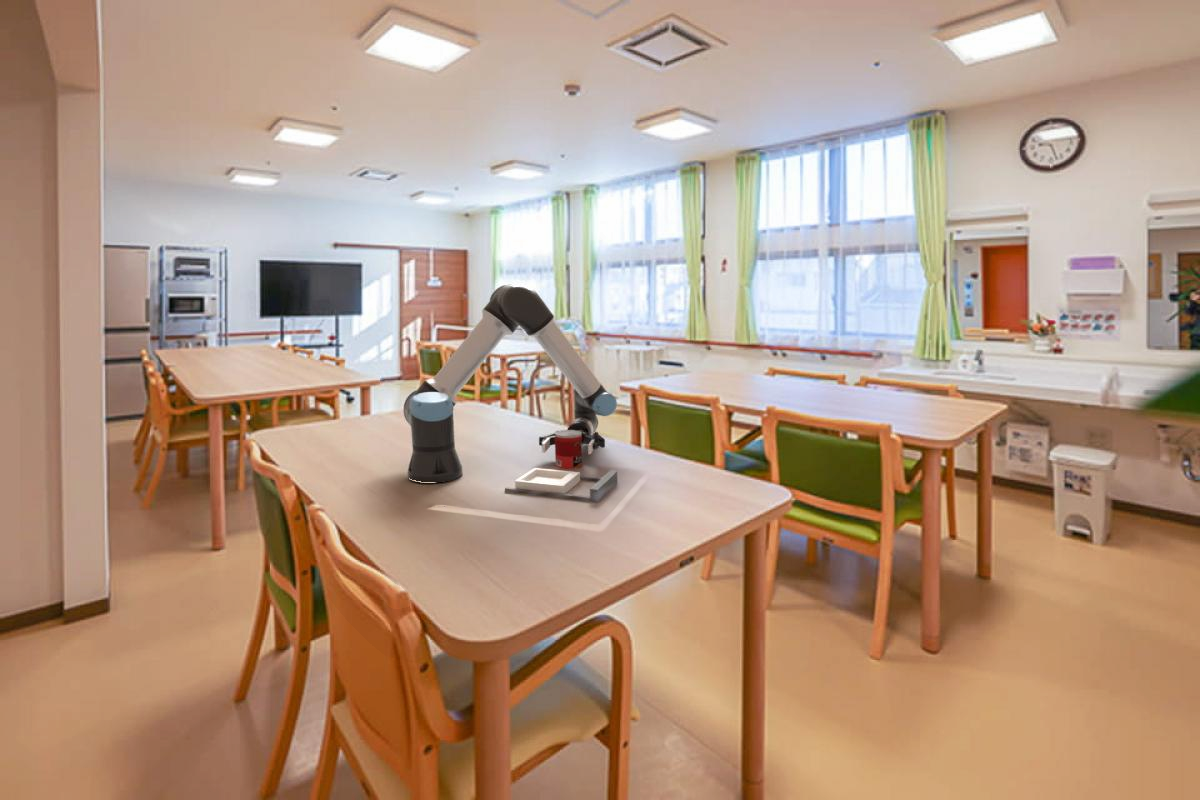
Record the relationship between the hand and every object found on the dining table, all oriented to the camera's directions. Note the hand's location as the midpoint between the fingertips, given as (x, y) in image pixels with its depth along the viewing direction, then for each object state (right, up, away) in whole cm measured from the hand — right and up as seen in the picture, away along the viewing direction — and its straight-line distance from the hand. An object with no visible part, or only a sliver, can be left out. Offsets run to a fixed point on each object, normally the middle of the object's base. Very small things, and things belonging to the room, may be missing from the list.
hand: (566, 448), depth 176 cm
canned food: (+1, -6, +5) cm, 8 cm away
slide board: (+1, -10, -15) cm, 18 cm away
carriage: (-5, -9, -14) cm, 17 cm away
